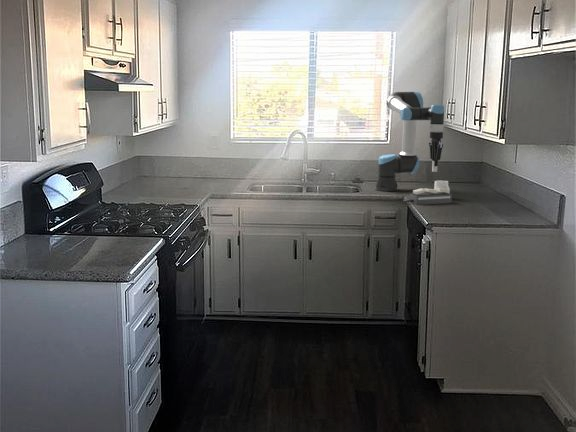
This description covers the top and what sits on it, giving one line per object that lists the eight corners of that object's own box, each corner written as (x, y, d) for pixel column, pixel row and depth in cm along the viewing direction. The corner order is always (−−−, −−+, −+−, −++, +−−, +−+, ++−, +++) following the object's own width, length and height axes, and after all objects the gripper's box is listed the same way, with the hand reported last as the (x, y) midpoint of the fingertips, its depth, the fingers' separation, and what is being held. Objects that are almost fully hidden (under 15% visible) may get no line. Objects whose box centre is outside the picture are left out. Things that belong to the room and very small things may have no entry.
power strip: (400, 202, 384) (400, 193, 383) (443, 200, 392) (444, 191, 391) (407, 205, 376) (407, 196, 375) (451, 202, 384) (452, 193, 383)
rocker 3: (435, 190, 387) (436, 187, 387) (444, 191, 389) (444, 188, 389) (439, 191, 382) (440, 188, 382) (448, 192, 384) (449, 190, 384)
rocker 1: (413, 193, 383) (412, 190, 383) (422, 190, 385) (421, 187, 384) (416, 194, 379) (416, 191, 378) (426, 191, 380) (425, 189, 379)
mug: (454, 199, 397) (455, 182, 395) (443, 200, 393) (444, 183, 391) (441, 196, 407) (442, 180, 405) (431, 197, 404) (431, 180, 402)
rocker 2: (424, 190, 385) (424, 187, 385) (433, 192, 387) (433, 189, 387) (428, 191, 380) (428, 188, 380) (437, 193, 382) (437, 190, 382)
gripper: (425, 130, 382) (423, 170, 387) (436, 132, 370) (434, 173, 375) (436, 130, 384) (434, 169, 389) (448, 132, 372) (445, 172, 377)
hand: (434, 171), depth 382 cm, fingers closed
